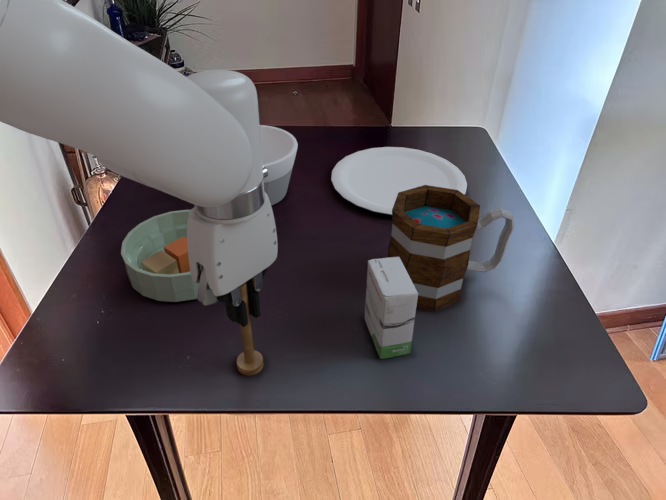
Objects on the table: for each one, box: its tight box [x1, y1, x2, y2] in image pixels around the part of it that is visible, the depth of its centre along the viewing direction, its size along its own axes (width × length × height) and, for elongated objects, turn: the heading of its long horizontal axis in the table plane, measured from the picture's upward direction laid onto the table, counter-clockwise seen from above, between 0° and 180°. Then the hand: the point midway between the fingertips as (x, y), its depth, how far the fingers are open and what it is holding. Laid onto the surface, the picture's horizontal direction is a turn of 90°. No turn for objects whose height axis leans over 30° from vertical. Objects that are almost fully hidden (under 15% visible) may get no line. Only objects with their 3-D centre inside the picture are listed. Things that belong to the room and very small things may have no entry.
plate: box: [330, 146, 468, 216], centre depth 111 cm, size 29×29×2 cm
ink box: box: [364, 256, 418, 360], centre depth 73 cm, size 9×5×12 cm, turn 13°
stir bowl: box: [120, 209, 199, 303], centre depth 86 cm, size 18×18×6 cm
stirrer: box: [236, 282, 264, 377], centre depth 67 cm, size 4×4×15 cm
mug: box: [387, 185, 515, 312], centre depth 82 cm, size 20×14×15 cm
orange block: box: [164, 236, 190, 273], centre depth 86 cm, size 4×4×4 cm
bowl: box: [260, 124, 299, 206], centre depth 105 cm, size 19×19×11 cm
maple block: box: [141, 250, 179, 274], centre depth 83 cm, size 4×4×4 cm
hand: (244, 315), depth 66 cm, fingers closed on stirrer, 1 cm apart
